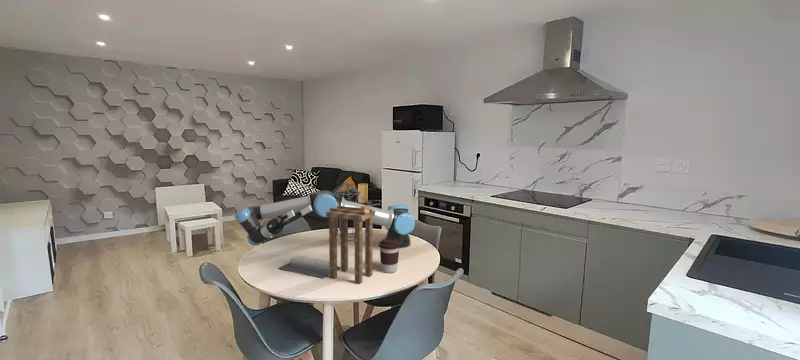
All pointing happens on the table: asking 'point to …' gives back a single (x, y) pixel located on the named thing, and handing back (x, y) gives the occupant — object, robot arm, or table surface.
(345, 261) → the stand
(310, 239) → the table surface
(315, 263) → the bar
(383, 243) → the coffee cup
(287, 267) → the mat
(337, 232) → the geometric lantern
